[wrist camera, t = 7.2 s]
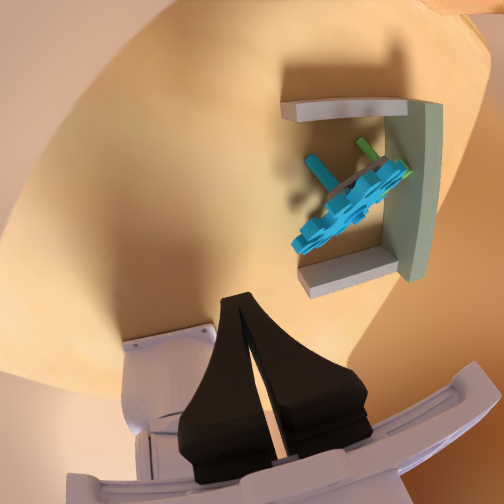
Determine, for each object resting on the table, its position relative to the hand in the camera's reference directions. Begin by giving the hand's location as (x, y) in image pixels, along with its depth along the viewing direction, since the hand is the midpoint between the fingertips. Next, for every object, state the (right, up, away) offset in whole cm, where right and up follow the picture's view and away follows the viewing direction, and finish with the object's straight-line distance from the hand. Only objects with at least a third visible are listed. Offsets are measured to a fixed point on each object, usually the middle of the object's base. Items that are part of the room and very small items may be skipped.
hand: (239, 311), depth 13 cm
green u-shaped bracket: (+8, +8, +10) cm, 15 cm away
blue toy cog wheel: (+7, +8, +10) cm, 15 cm away
